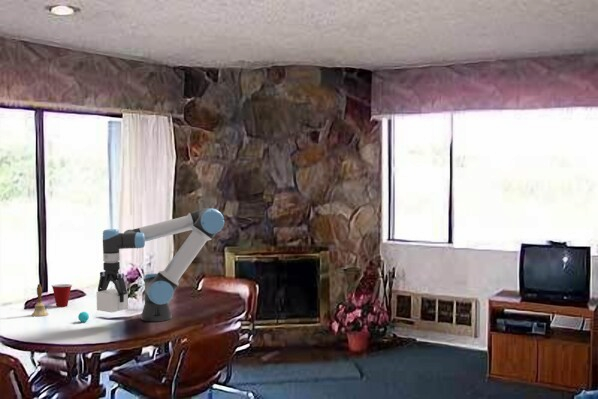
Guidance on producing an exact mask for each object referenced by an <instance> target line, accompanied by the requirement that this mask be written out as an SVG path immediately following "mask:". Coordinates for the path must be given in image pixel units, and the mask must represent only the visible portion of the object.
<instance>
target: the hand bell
mask: <svg viewBox="0 0 598 399" xmlns="http://www.w3.org/2000/svg"><path fill="white" fill-rule="evenodd" d="M36 294H37V304H35V306H34V310H33V311H32V314H31V316H32V317H34V316H35V317H39V318H41V317H46V316H48V315H49V312H48V311H47V310H46V307H45V304H44V303H43V302H42V294H43V288H42V284H40V283H39V284H37V287H36Z"/></svg>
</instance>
